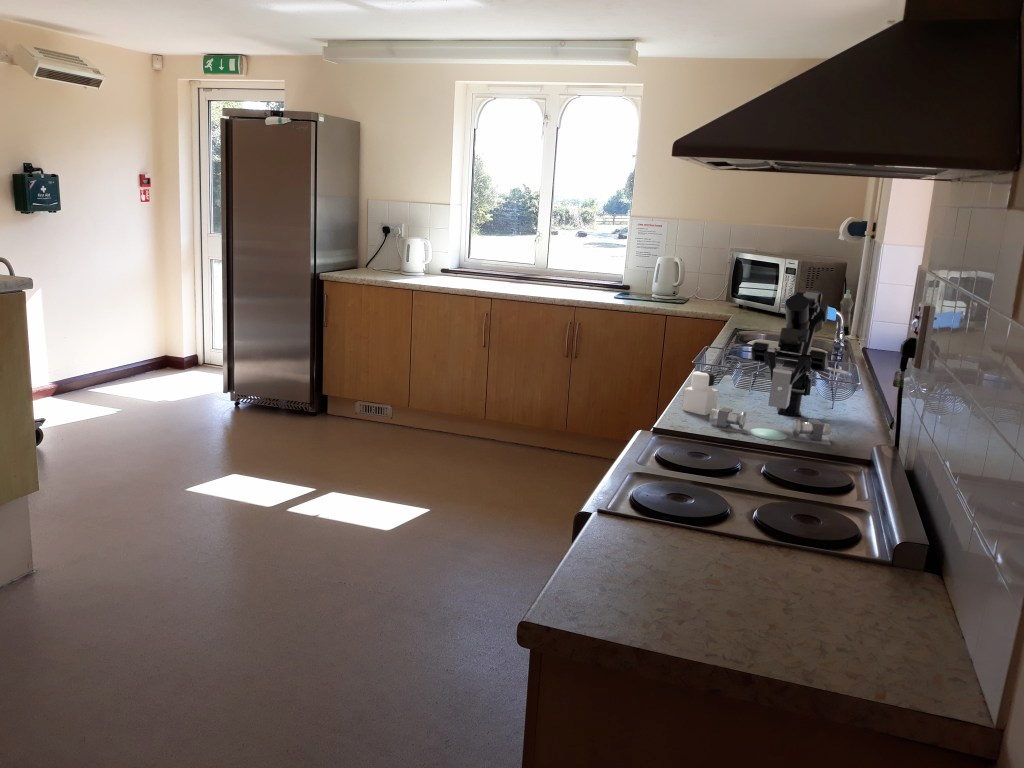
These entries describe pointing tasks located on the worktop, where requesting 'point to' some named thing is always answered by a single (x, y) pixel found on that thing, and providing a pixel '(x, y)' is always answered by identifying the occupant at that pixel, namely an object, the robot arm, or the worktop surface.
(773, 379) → the block
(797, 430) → the shaft
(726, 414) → the shaft
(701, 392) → the medicine bottle
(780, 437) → the coupling board
